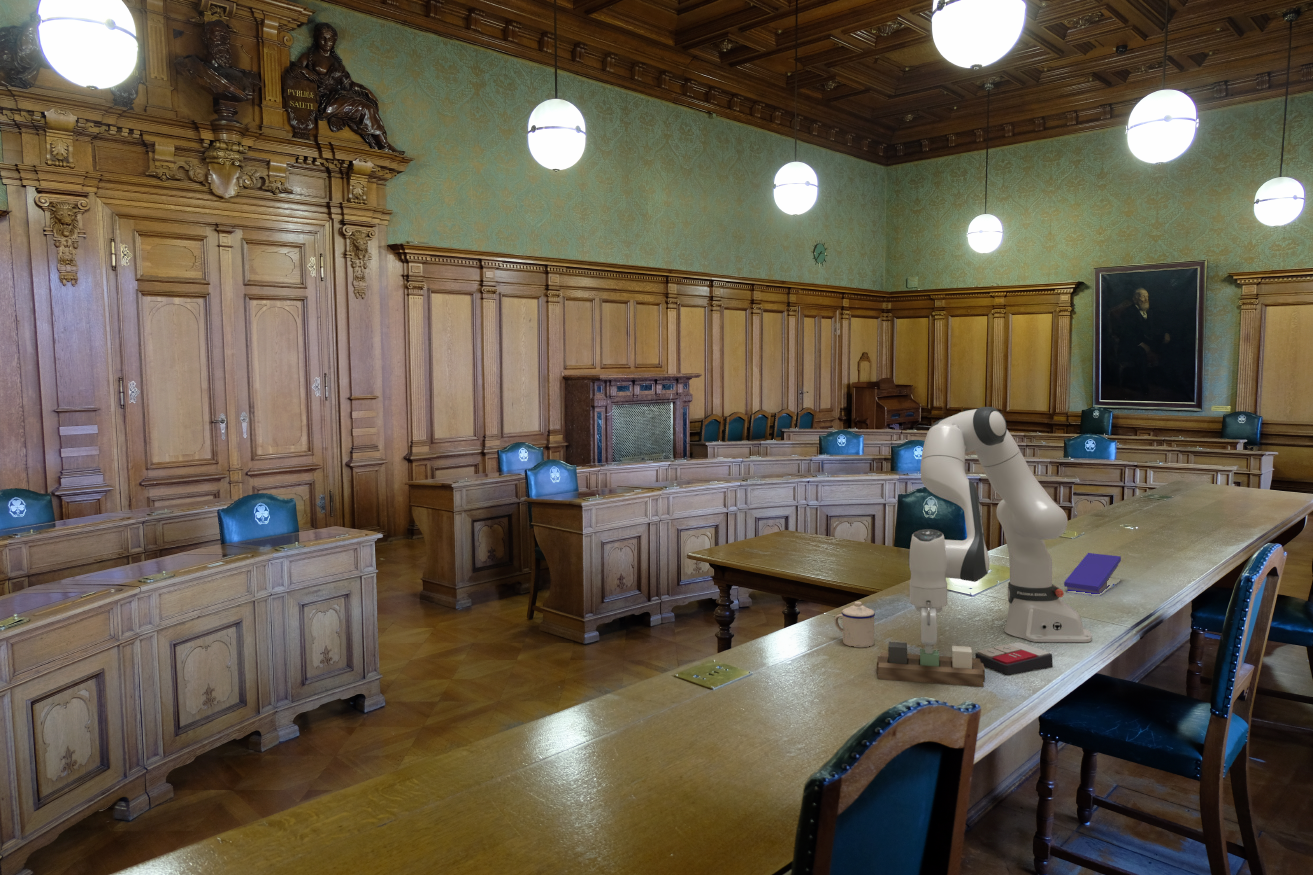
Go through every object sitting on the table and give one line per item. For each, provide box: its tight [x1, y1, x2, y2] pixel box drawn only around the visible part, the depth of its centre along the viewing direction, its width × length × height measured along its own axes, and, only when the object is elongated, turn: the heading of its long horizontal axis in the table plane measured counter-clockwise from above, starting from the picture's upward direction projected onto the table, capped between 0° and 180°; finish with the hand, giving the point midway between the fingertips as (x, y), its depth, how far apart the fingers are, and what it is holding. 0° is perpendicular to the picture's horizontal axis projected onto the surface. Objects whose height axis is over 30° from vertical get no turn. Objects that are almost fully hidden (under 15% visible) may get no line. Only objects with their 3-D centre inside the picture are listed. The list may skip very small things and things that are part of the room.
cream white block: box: [951, 645, 973, 669], centre depth 200 cm, size 4×4×5 cm
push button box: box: [974, 642, 1054, 677], centre depth 208 cm, size 11×4×15 cm
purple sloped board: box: [1063, 552, 1122, 594], centre depth 287 cm, size 12×28×10 cm, turn 138°
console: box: [876, 651, 986, 688], centre depth 203 cm, size 25×12×3 cm, turn 72°
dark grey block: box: [887, 641, 908, 664], centre depth 205 cm, size 4×4×5 cm
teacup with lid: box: [834, 601, 876, 648], centre depth 231 cm, size 12×9×12 cm
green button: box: [919, 648, 940, 667], centre depth 203 cm, size 4×4×5 cm
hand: (928, 651), depth 203 cm, fingers closed, pressing on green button
